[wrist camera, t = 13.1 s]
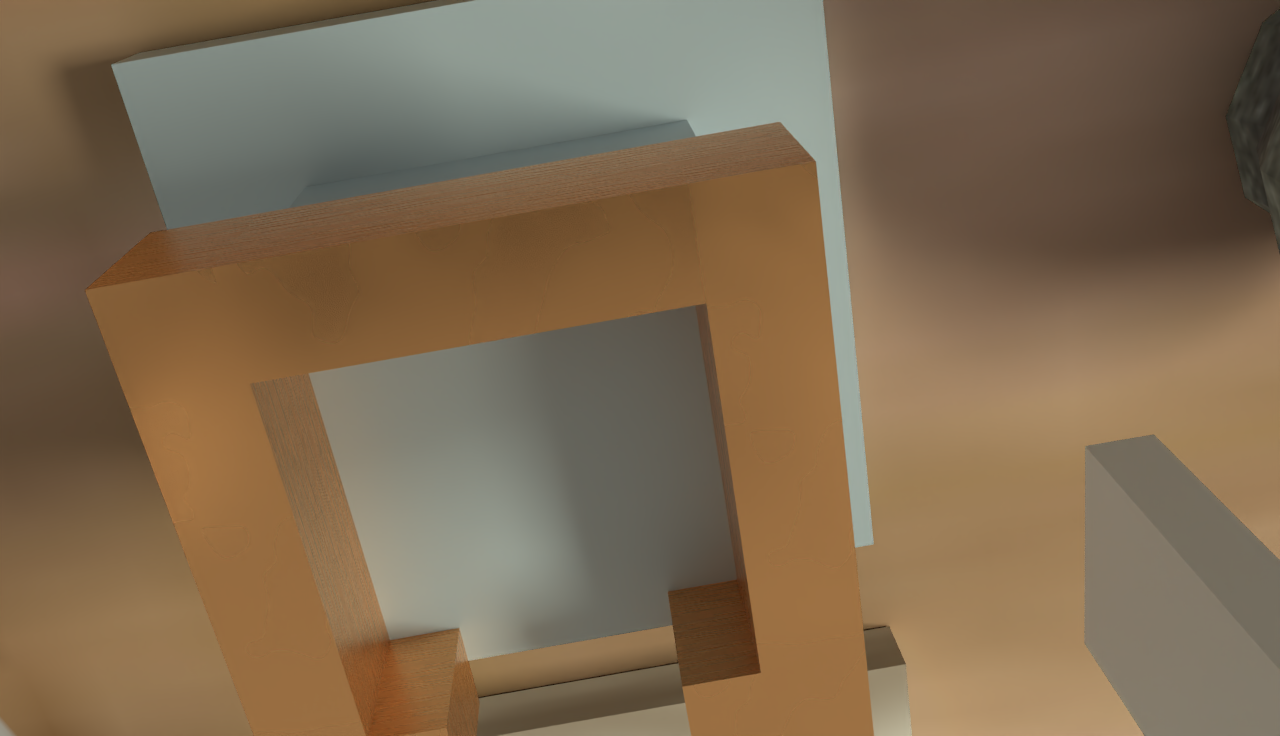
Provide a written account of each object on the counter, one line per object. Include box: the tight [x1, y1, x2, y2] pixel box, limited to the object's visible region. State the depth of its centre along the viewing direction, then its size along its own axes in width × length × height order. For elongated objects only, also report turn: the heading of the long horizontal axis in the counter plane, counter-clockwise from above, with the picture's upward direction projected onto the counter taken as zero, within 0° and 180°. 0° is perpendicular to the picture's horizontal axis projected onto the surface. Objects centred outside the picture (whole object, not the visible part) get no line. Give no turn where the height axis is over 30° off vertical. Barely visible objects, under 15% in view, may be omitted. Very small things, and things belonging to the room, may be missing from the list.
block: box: [111, 0, 874, 661], centre depth 22 cm, size 13×13×7 cm
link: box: [85, 122, 874, 736], centre depth 17 cm, size 9×9×2 cm
